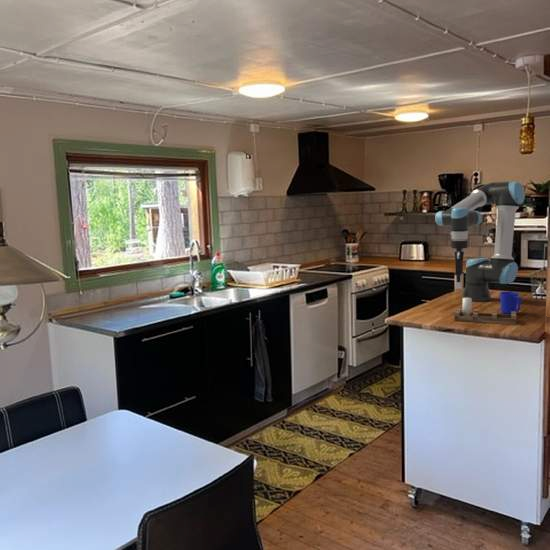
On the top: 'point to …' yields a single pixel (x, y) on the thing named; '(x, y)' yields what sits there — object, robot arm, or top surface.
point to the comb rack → (487, 317)
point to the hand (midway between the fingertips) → (459, 287)
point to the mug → (509, 302)
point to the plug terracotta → (462, 285)
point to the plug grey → (467, 307)
